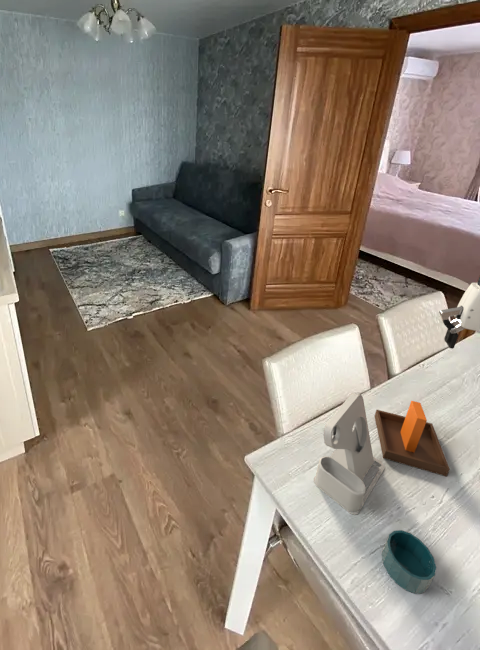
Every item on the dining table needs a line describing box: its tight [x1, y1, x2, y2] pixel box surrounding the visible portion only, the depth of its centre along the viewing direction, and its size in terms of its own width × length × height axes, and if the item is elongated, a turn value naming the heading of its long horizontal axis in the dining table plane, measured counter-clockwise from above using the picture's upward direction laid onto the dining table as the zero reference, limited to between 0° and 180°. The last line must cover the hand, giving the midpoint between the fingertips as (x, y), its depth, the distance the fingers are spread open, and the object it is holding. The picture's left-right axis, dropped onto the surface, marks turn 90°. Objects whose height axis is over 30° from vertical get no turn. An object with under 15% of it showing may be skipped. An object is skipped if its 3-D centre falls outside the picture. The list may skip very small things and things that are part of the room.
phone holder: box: [313, 392, 385, 516], centre depth 77 cm, size 17×10×18 cm, turn 132°
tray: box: [374, 409, 451, 477], centre depth 88 cm, size 13×13×2 cm
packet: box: [400, 400, 428, 452], centre depth 86 cm, size 2×6×11 cm, turn 160°
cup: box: [381, 529, 437, 595], centre depth 63 cm, size 7×7×5 cm
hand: (473, 349), depth 79 cm, fingers open, 9 cm apart
